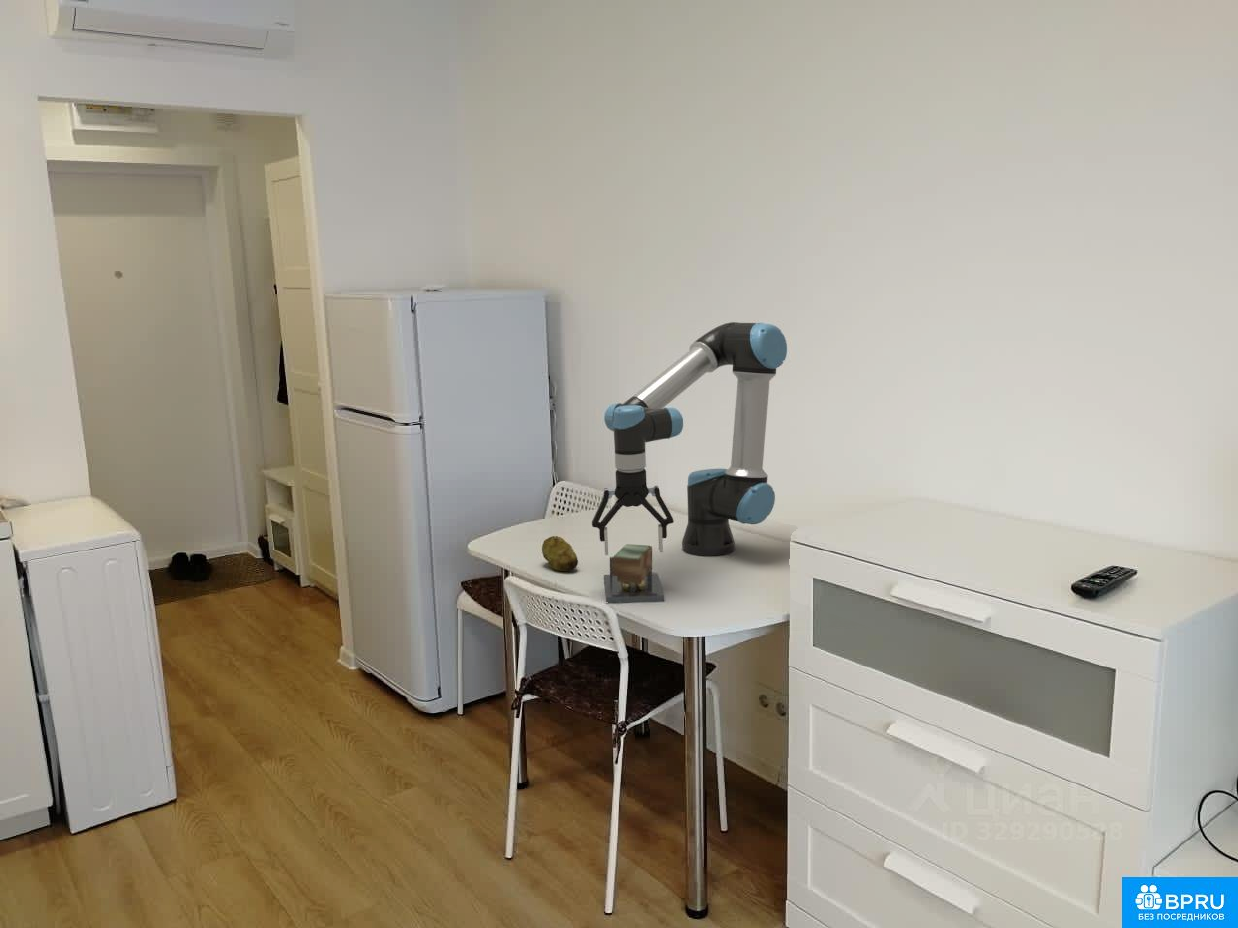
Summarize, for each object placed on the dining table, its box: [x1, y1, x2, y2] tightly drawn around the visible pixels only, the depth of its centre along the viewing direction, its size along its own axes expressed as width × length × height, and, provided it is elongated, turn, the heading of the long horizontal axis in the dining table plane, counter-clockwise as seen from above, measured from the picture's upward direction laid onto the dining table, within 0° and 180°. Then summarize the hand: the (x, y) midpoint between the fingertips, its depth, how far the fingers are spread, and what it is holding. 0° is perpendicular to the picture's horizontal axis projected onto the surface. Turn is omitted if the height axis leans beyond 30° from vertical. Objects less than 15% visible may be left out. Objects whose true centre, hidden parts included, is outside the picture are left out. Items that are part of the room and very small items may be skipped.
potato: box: [541, 535, 579, 572], centre depth 265 cm, size 8×13×8 cm, turn 16°
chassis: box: [603, 556, 665, 604], centre depth 245 cm, size 18×14×6 cm
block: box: [611, 543, 653, 583], centre depth 244 cm, size 12×7×6 cm, turn 163°
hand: (633, 552), depth 244 cm, fingers open, 13 cm apart
